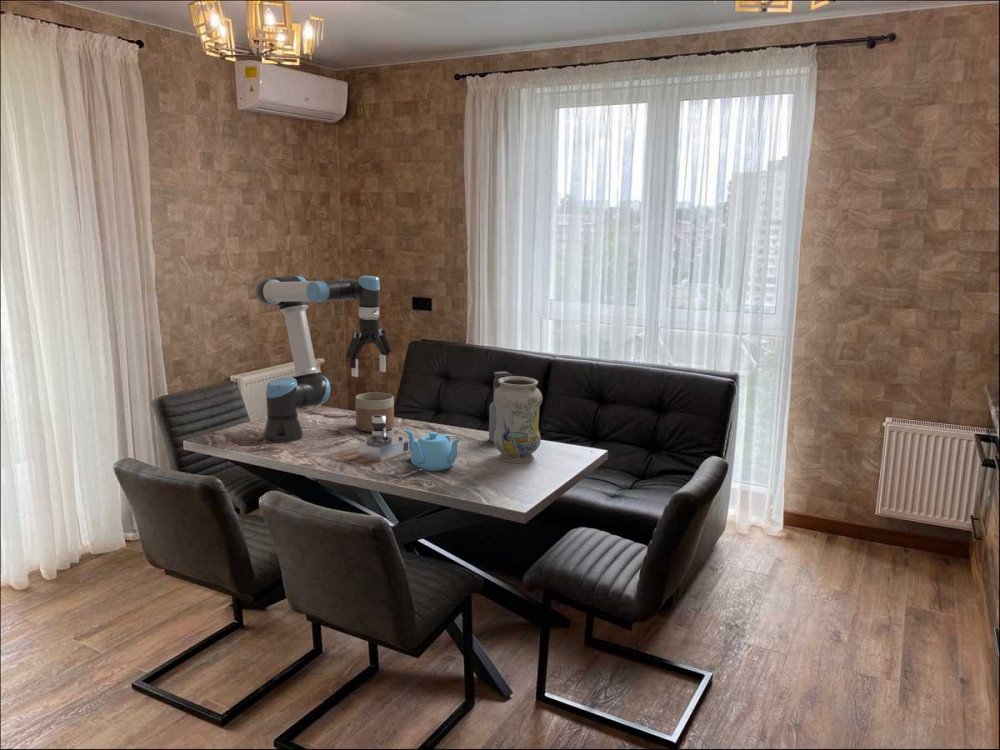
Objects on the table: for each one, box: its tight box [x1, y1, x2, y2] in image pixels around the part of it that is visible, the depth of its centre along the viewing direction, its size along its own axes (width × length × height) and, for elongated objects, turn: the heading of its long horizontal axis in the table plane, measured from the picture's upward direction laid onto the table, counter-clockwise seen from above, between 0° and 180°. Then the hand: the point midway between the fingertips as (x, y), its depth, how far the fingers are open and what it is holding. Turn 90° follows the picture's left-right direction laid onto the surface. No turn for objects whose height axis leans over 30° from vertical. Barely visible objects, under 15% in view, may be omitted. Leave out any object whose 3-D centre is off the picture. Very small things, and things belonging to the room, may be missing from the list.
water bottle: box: [488, 371, 515, 443], centre depth 302 cm, size 10×10×28 cm
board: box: [335, 448, 411, 467], centre depth 278 cm, size 19×20×1 cm
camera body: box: [357, 434, 409, 462], centre depth 278 cm, size 11×15×6 cm
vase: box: [493, 375, 543, 464], centre depth 278 cm, size 18×18×30 cm
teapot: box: [404, 428, 461, 472], centre depth 270 cm, size 17×19×12 cm
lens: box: [371, 414, 387, 441], centre depth 275 cm, size 5×5×10 cm
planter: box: [355, 392, 395, 433], centre depth 318 cm, size 16×16×14 cm
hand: (368, 373), depth 284 cm, fingers open, 13 cm apart
